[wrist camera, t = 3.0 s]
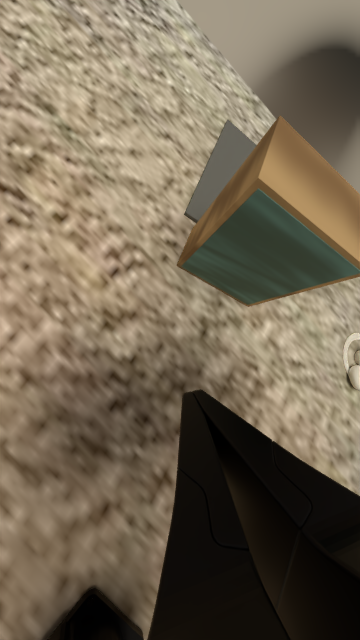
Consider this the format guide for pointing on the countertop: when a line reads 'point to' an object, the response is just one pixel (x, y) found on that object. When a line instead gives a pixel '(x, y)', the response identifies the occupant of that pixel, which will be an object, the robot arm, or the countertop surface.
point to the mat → (220, 169)
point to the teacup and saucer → (356, 373)
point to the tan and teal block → (277, 224)
